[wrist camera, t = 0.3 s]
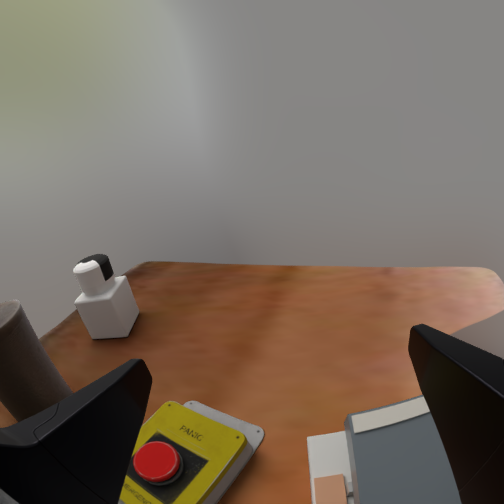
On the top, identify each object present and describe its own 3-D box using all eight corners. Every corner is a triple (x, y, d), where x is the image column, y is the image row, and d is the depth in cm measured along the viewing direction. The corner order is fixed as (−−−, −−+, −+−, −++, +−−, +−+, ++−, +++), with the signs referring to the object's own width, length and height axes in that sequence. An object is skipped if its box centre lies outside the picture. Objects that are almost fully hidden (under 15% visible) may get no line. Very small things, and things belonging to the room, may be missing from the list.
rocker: (508, 470, 7) (525, 463, 6) (356, 538, 8) (363, 542, 7) (481, 378, 14) (494, 364, 13) (343, 423, 15) (348, 413, 14)
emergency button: (72, 474, 13) (177, 374, 24) (100, 493, 14) (191, 401, 26) (148, 547, 8) (262, 407, 20) (174, 554, 10) (269, 432, 21)
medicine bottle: (106, 315, 44) (81, 254, 39) (140, 311, 44) (116, 246, 39) (91, 340, 37) (60, 273, 33) (128, 337, 37) (97, 265, 33)
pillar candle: (55, 445, 18) (-28, 337, 13) (12, 424, 19) (-54, 329, 14) (87, 389, 27) (30, 286, 22) (42, 379, 28) (-7, 290, 23)
